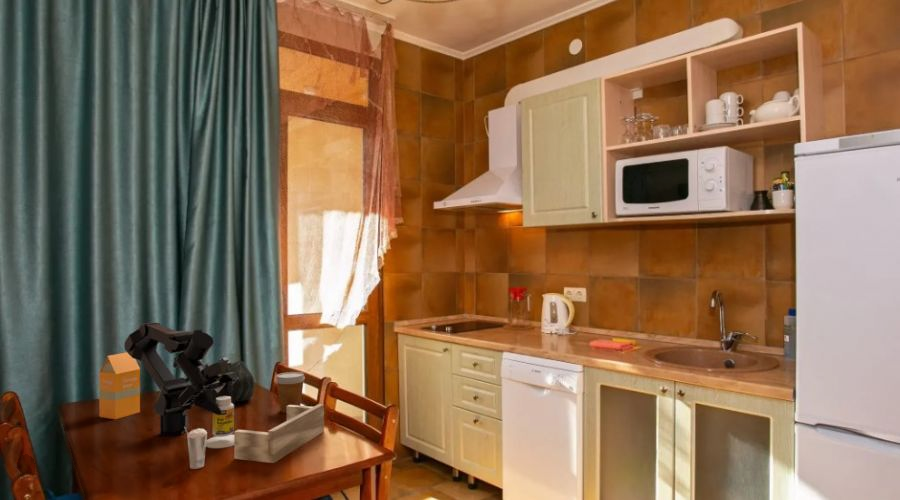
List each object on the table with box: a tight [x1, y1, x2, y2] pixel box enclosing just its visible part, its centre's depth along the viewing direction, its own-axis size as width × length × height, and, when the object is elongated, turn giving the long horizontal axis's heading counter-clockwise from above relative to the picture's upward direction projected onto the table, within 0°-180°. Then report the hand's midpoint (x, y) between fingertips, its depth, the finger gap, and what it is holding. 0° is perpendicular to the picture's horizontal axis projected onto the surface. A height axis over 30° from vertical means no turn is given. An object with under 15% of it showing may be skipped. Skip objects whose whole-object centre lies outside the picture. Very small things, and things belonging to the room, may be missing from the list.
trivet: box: [206, 434, 234, 449], centre depth 154 cm, size 10×10×1 cm
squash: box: [211, 360, 256, 402], centre depth 196 cm, size 14×15×15 cm
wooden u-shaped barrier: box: [233, 403, 325, 464], centre depth 152 cm, size 12×26×8 cm, turn 164°
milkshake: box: [184, 427, 208, 470], centre depth 136 cm, size 4×5×10 cm
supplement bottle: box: [211, 396, 235, 437], centre depth 154 cm, size 6×6×10 cm
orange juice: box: [98, 351, 141, 420], centre depth 181 cm, size 8×9×20 cm
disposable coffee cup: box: [275, 371, 306, 414], centre depth 184 cm, size 10×10×12 cm
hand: (227, 411), depth 154 cm, fingers closed on supplement bottle, 5 cm apart
